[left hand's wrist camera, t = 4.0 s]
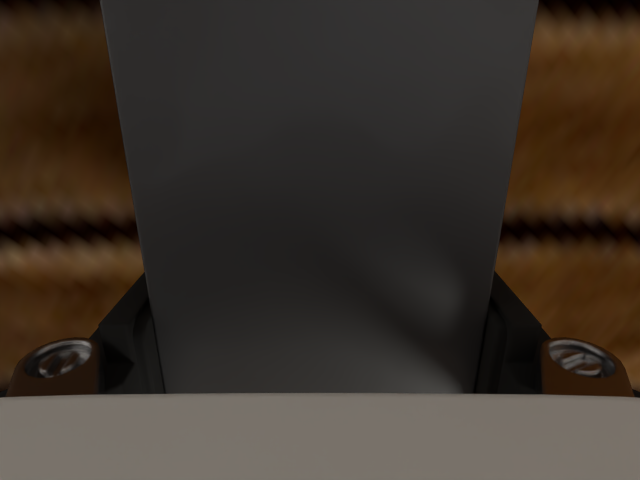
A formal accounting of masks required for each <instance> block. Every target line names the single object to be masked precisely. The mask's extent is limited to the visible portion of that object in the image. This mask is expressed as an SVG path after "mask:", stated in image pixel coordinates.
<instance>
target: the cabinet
mask: <svg viewBox="0 0 640 480" xmlns="http://www.w3.org/2000/svg"><path fill="white" fill-rule="evenodd" d="M538 1H539V0H100V4H101V10H102V16H103V22H104V28H105V35H106V41H107V47H108V53H109V59H110V65H111V71H112V77H113V83H114V89H115V95H116V101H117V107H118V113H119V119H120V125H121V131H122V137H123V144H124V150H125V156H126V162H127V168H128V174H129V180H130V186H131V192H132V198H133V204H134V210H135V216H136V222H137V228H138V234H139V240H140V246H141V253H142V259H143V265H144V271H145V277H146V283H147V289H148V295H149V301H150V307H151V313H152V319H153V325H154V331H155V337H156V343H157V349H158V355H159V362H160V368H161V374H162V380H163V386H164V392H165V394H204V393H424V394H474V391H475V385H476V379H477V373H478V367H479V361H480V355H481V349H482V343H483V336H484V330H485V324H486V318H487V312H488V306H489V300H490V294H491V288H492V282H493V275H494V269H495V263H496V257H497V251H498V245H499V239H500V233H501V227H502V221H503V215H504V208H505V202H506V196H507V190H508V184H509V178H510V172H511V166H512V160H513V154H514V148H515V141H516V135H517V129H518V123H519V117H520V111H521V105H522V99H523V93H524V87H525V81H526V74H527V68H528V62H529V56H530V50H531V44H532V38H533V32H534V26H535V20H536V13H537V7H538Z"/></svg>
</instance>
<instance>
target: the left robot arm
mask: <svg viewBox="0 0 640 480" xmlns="http://www.w3.org/2000/svg"><path fill="white" fill-rule="evenodd" d="M98 326H99V328H98V329H97V330H96V331H95V332H94V333H93V335H92V336H91V337H90V338H89V339H88V338H78V337H74V338H66V339H61V340H57V341H54V342H50V343H48V344H45V345H43V346H41V347H38V348H36V349H35V350H33V351H32V352H30V353H28V354H27V355H26V356H25V357H23V358H22V359H21V360H20V361H19V363H18V364H17V366H16V368H15V370H14V373H13V376H12V379H11V382H10V385H9V388H8V389H7V390H4V391H2V392H0V480H640V392H638V391H636V390H633V389H632V388H631V385H630V382H629V379H628V376H627V373H626V370H625V368H624V366H623V364H622V363H621V361H620V360H619V359H618V358H617V357H615V356H614V355H613V354H612V353H610V352H608V351H607V350H605V349H604V348H602V347H599V346H597V345H595V344H592V343H590V342H586V341H583V340H579V339H574V338H566V337H562V338H552V339H551V338H550V337H549V336H548V335H547V333H546V332H545V331H544V330H543V329H542V328H541V326H542V325H541V324H540V323H539V321H538V320H537V319H536V318H535V317H534V316H533V315H532V313H531V312H530V311H529V310H528V309H527V308H526V307H525V305H524V304H523V303H522V302H521V301H520V300H519V298H518V297H517V296H516V295H515V294H514V293H513V292H512V290H511V289H510V288H509V287H508V286H507V285H506V284H505V282H504V281H503V280H502V279H501V278H500V277H499V276H498V274H497V273H496V272H495V271H494V275H493V282H492V288H491V294H490V300H489V306H488V312H487V318H486V324H485V330H484V336H483V343H482V349H481V355H480V361H479V367H478V373H477V379H476V385H475V391H474V394H424V393H204V394H165V392H164V386H163V380H162V374H161V368H160V362H159V355H158V349H157V343H156V337H155V331H154V325H153V319H152V313H151V307H150V301H149V295H148V289H147V283H146V277H145V272H144V273H143V274H142V275H141V277H140V278H139V279H138V280H137V281H136V282H135V284H134V285H133V286H132V287H131V288H130V289H129V290H128V292H127V293H126V294H125V295H124V296H123V297H122V298H121V300H120V301H119V302H118V303H117V304H116V305H115V306H114V308H113V309H112V310H111V311H110V312H109V313H108V315H107V316H106V317H105V318H104V319H103V320H102V321H101V323H100V324H99V325H98Z"/></svg>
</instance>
